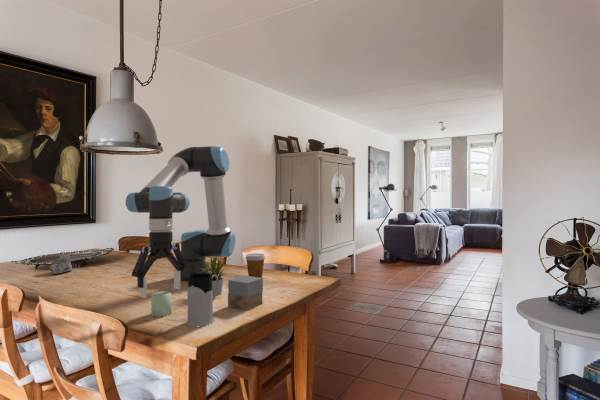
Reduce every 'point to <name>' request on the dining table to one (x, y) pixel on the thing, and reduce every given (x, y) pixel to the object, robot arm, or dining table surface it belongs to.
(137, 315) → the dining table surface
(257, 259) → the disposable coffee cup
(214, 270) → the house plant
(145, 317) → the dining table surface
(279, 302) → the dining table surface
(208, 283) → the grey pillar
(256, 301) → the walnut base block
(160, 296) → the pale green rounded cylinder
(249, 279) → the charcoal top block
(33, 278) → the dining table surface
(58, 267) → the mineral rock
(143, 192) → the robot arm
